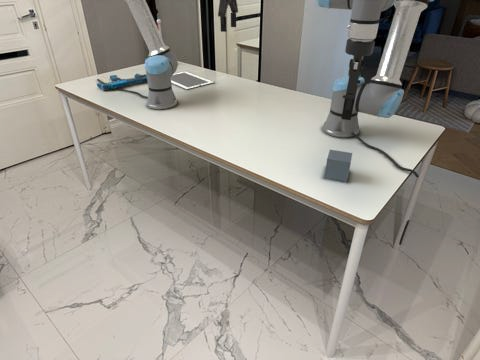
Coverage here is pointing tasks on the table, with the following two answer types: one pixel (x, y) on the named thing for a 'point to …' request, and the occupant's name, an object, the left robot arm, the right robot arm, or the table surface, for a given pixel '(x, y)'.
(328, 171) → the grey cube
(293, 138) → the table surface
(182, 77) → the tablet
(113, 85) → the submachine gun
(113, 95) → the table surface
